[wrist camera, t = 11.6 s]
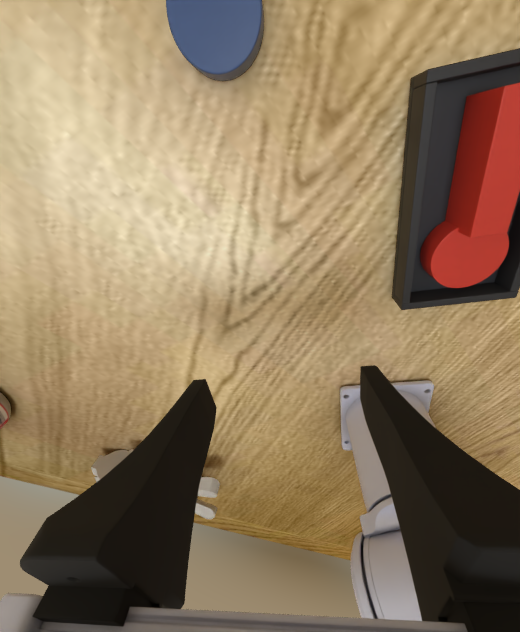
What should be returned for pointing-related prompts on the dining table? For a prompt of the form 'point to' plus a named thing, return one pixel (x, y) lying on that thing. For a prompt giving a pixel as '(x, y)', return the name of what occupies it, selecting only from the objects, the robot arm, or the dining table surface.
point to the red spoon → (479, 192)
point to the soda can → (4, 410)
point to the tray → (445, 179)
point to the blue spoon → (217, 34)
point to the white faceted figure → (206, 489)
